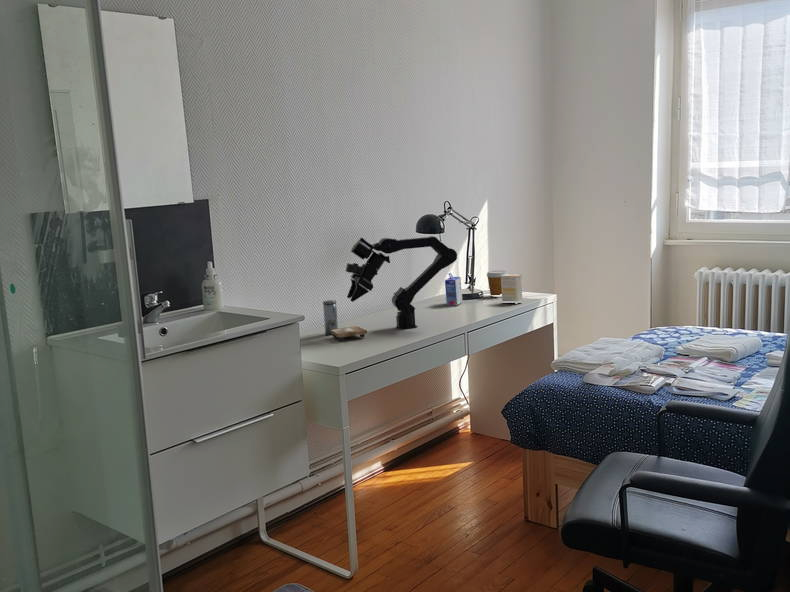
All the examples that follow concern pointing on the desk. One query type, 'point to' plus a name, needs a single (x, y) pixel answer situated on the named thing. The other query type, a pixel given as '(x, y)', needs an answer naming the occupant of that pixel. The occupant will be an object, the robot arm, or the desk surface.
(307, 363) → the desk surface
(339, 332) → the frame
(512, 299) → the supplement box
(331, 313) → the canister
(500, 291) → the disposable coffee cup
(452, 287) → the ink cartridge box
